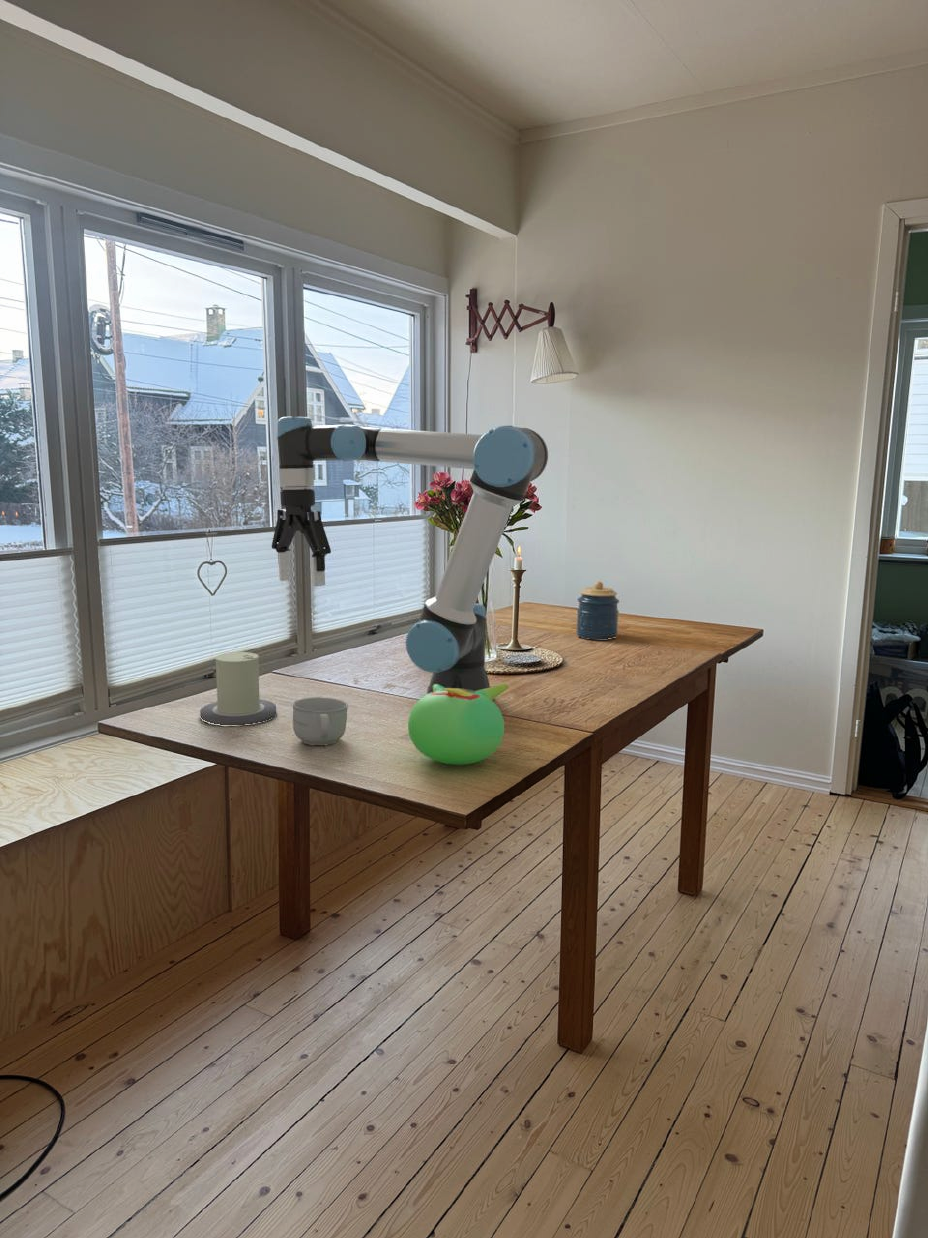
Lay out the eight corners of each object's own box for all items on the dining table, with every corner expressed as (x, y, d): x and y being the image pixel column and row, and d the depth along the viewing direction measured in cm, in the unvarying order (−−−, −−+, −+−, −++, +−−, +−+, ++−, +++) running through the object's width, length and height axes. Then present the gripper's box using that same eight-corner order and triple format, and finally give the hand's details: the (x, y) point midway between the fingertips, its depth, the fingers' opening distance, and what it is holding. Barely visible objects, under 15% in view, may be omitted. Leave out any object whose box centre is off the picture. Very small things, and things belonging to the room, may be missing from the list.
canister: (576, 631, 283) (578, 577, 280) (616, 633, 282) (619, 579, 278) (575, 640, 271) (577, 583, 267) (618, 642, 269) (620, 585, 266)
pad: (289, 717, 189) (289, 710, 189) (220, 731, 179) (220, 724, 179) (254, 700, 201) (254, 694, 201) (188, 713, 191) (187, 706, 191)
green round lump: (394, 768, 160) (394, 691, 157) (430, 740, 175) (430, 669, 173) (487, 782, 154) (488, 702, 151) (516, 752, 169) (517, 679, 166)
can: (249, 715, 185) (247, 660, 182) (209, 712, 186) (206, 657, 184) (267, 703, 193) (266, 651, 191) (228, 701, 195) (226, 648, 193)
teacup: (296, 733, 179) (295, 695, 178) (349, 732, 180) (349, 694, 178) (288, 756, 165) (287, 715, 164) (346, 755, 166) (345, 715, 165)
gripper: (344, 488, 188) (348, 586, 191) (281, 486, 205) (286, 576, 209) (315, 489, 183) (319, 590, 186) (253, 487, 200) (258, 579, 204)
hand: (301, 583), depth 198 cm, fingers open, 13 cm apart
